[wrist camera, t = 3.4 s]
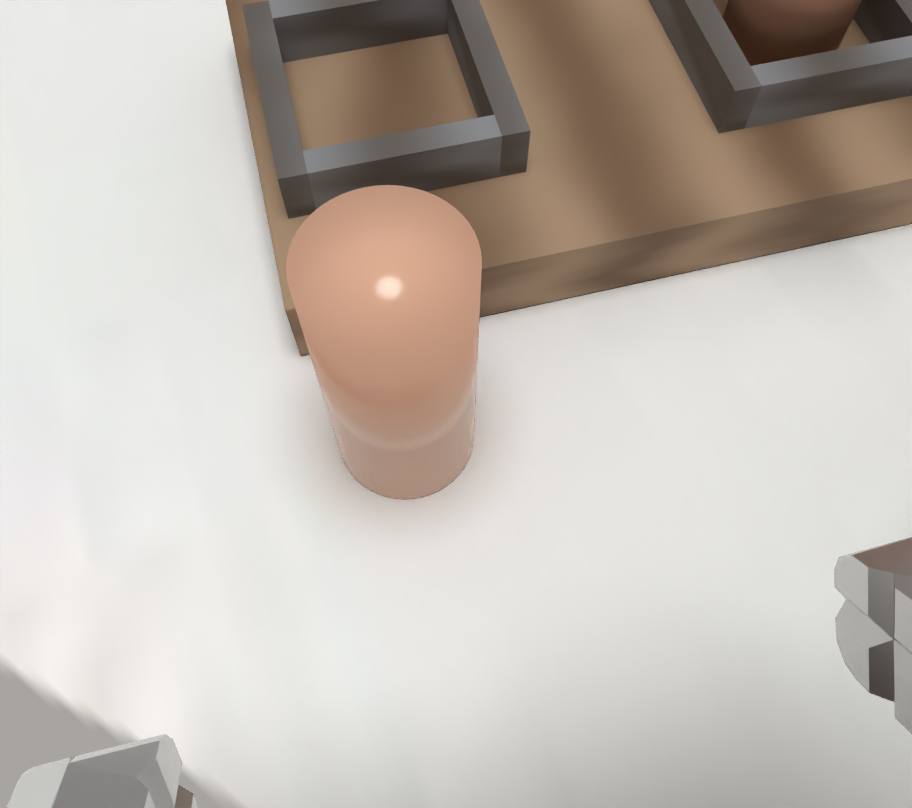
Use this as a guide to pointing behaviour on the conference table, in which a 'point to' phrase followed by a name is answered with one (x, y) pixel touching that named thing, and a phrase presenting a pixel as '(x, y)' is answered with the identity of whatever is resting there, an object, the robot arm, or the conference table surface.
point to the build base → (587, 127)
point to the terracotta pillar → (392, 332)
